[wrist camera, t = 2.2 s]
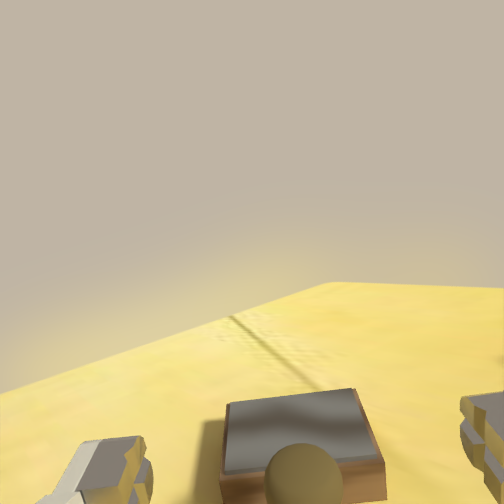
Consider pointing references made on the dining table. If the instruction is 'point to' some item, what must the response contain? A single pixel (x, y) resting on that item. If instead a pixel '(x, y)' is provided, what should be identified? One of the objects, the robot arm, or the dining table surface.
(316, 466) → the brown chess pawn
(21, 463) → the dining table surface
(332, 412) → the walnut riser
